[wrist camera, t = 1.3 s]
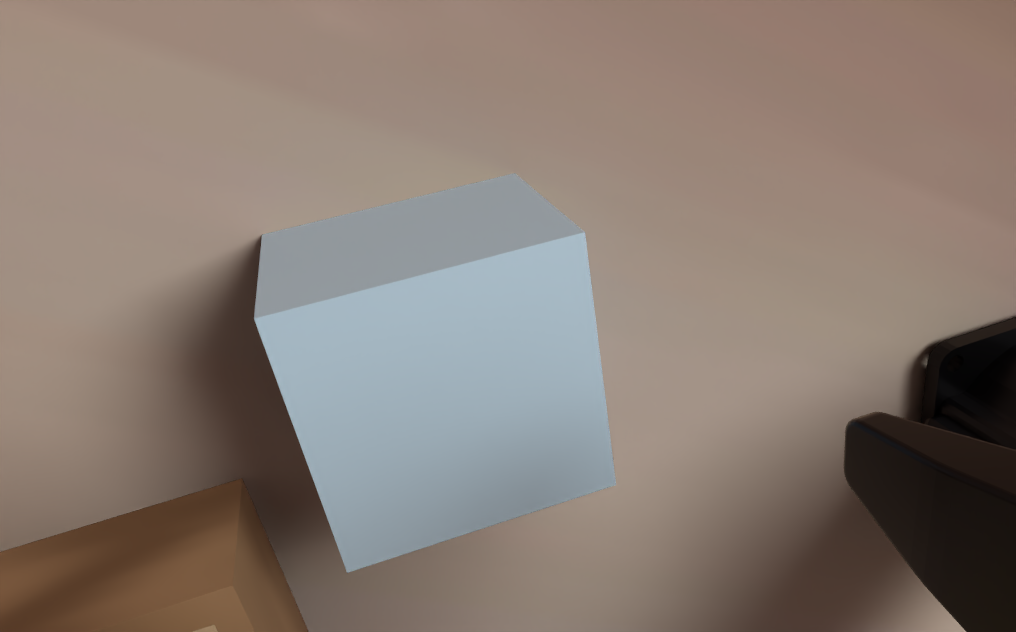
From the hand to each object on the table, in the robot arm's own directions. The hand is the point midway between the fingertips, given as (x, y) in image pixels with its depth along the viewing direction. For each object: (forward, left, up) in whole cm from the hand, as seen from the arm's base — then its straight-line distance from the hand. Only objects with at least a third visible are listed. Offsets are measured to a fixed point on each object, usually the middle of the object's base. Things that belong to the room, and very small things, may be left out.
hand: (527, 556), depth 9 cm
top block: (0, 0, -7) cm, 7 cm away
